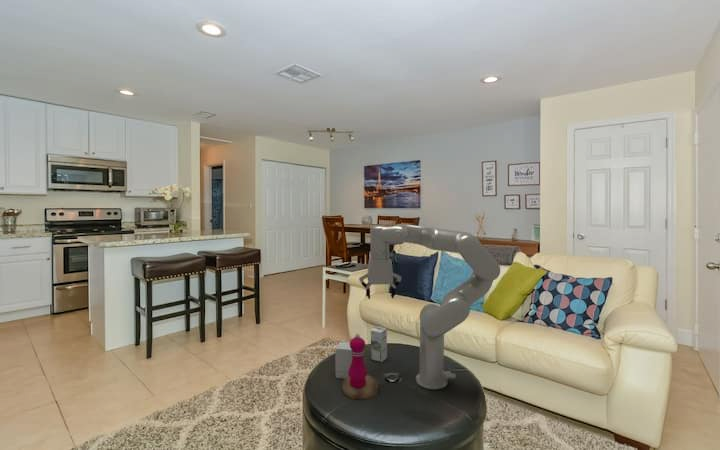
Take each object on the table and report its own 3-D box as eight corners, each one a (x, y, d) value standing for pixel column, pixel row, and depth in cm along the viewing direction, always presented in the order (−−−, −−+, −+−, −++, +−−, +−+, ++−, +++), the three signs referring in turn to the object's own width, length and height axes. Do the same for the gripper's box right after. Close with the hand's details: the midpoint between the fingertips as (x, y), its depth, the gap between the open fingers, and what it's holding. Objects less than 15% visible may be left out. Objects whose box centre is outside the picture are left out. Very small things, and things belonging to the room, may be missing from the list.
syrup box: (387, 358, 167) (387, 327, 166) (381, 363, 162) (381, 331, 161) (376, 355, 170) (376, 325, 169) (370, 360, 165) (370, 329, 164)
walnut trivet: (377, 379, 147) (377, 374, 147) (379, 399, 133) (379, 392, 133) (343, 380, 147) (342, 374, 146) (341, 399, 133) (341, 393, 133)
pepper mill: (344, 385, 138) (344, 335, 137) (355, 377, 144) (355, 329, 143) (360, 390, 134) (359, 339, 133) (370, 382, 140) (370, 332, 138)
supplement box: (352, 379, 147) (352, 350, 146) (335, 378, 149) (334, 348, 148) (356, 371, 155) (355, 342, 154) (339, 369, 156) (339, 341, 155)
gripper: (399, 254, 148) (400, 294, 150) (358, 255, 148) (359, 295, 149) (402, 257, 141) (403, 299, 142) (358, 258, 140) (359, 301, 142)
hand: (380, 297), depth 146 cm, fingers open, 9 cm apart
